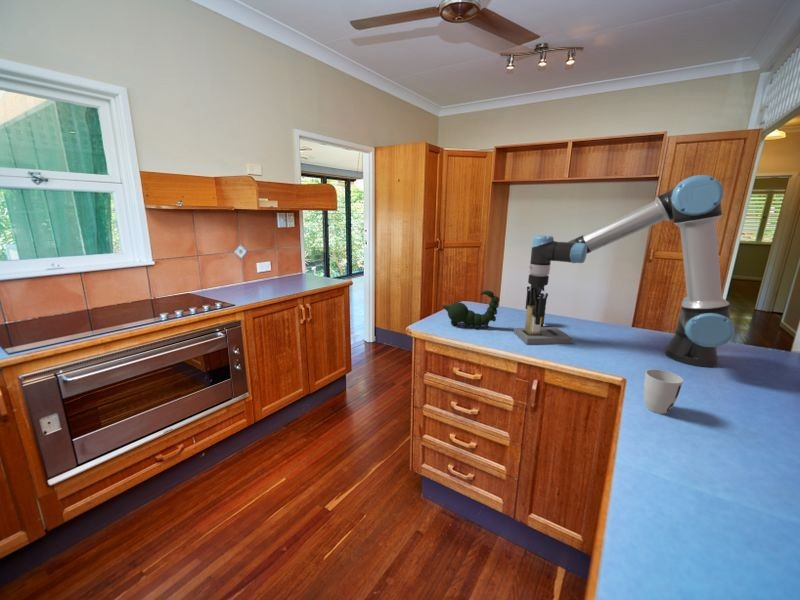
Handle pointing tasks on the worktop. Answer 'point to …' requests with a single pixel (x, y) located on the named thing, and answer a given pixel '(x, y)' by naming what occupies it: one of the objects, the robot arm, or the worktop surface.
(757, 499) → the worktop surface
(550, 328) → the socket plate
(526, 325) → the brass peg
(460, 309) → the toy figurine
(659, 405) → the cup
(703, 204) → the robot arm
